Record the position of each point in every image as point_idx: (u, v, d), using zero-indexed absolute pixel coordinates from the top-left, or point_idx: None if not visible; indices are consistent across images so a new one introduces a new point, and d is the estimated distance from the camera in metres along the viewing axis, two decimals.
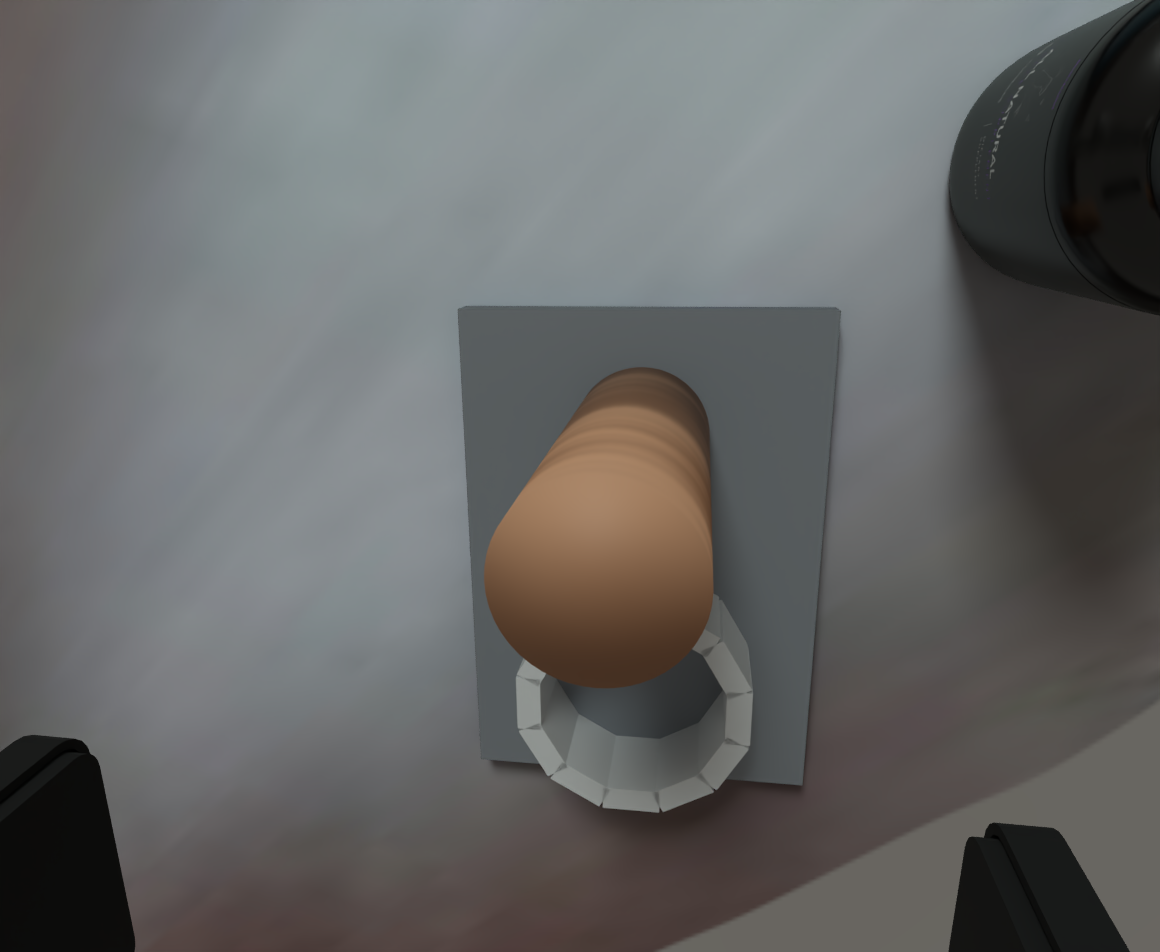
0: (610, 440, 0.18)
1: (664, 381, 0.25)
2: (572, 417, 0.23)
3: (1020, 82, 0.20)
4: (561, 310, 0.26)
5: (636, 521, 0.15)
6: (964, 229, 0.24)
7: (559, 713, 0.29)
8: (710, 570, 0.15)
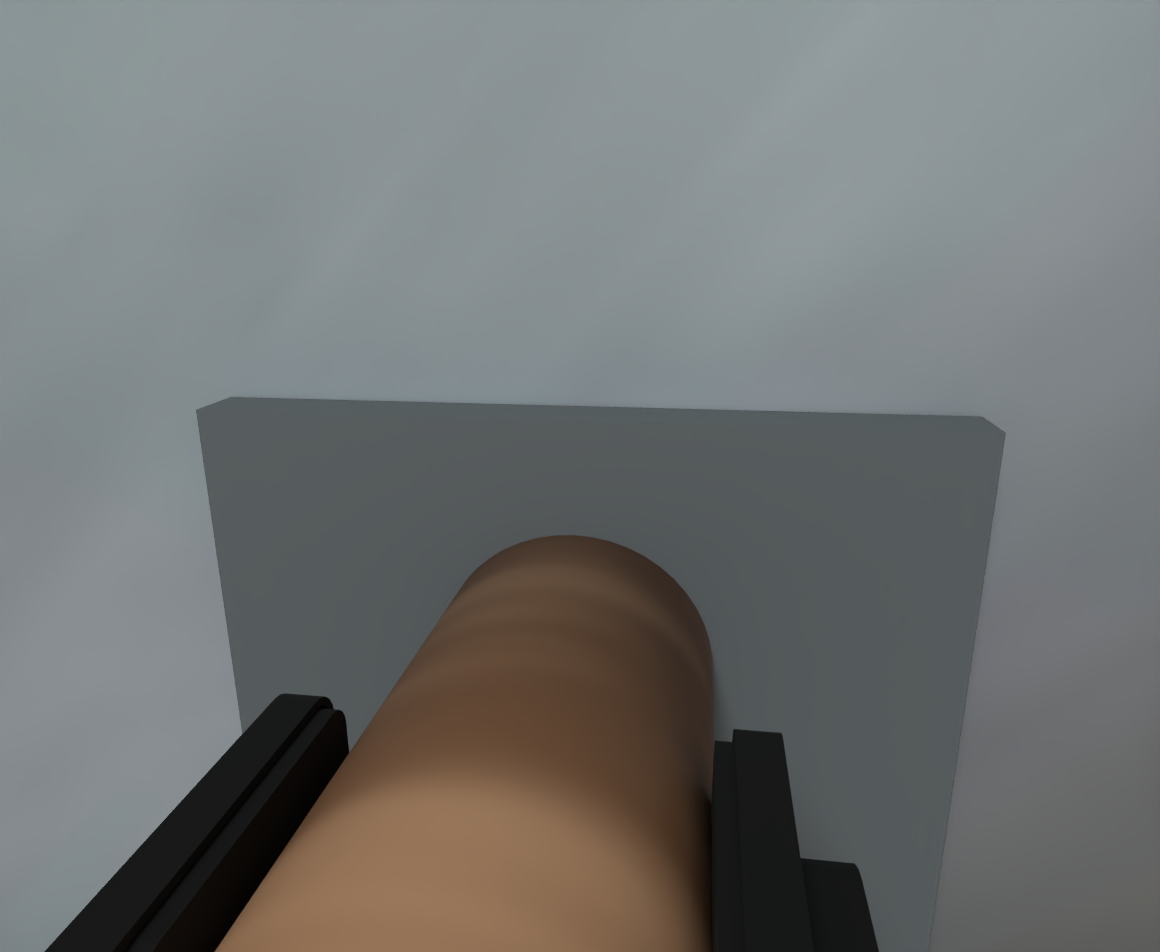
0: None
1: (612, 592, 0.11)
2: (372, 722, 0.09)
3: None
4: (403, 417, 0.13)
5: None
6: None
7: None
8: None
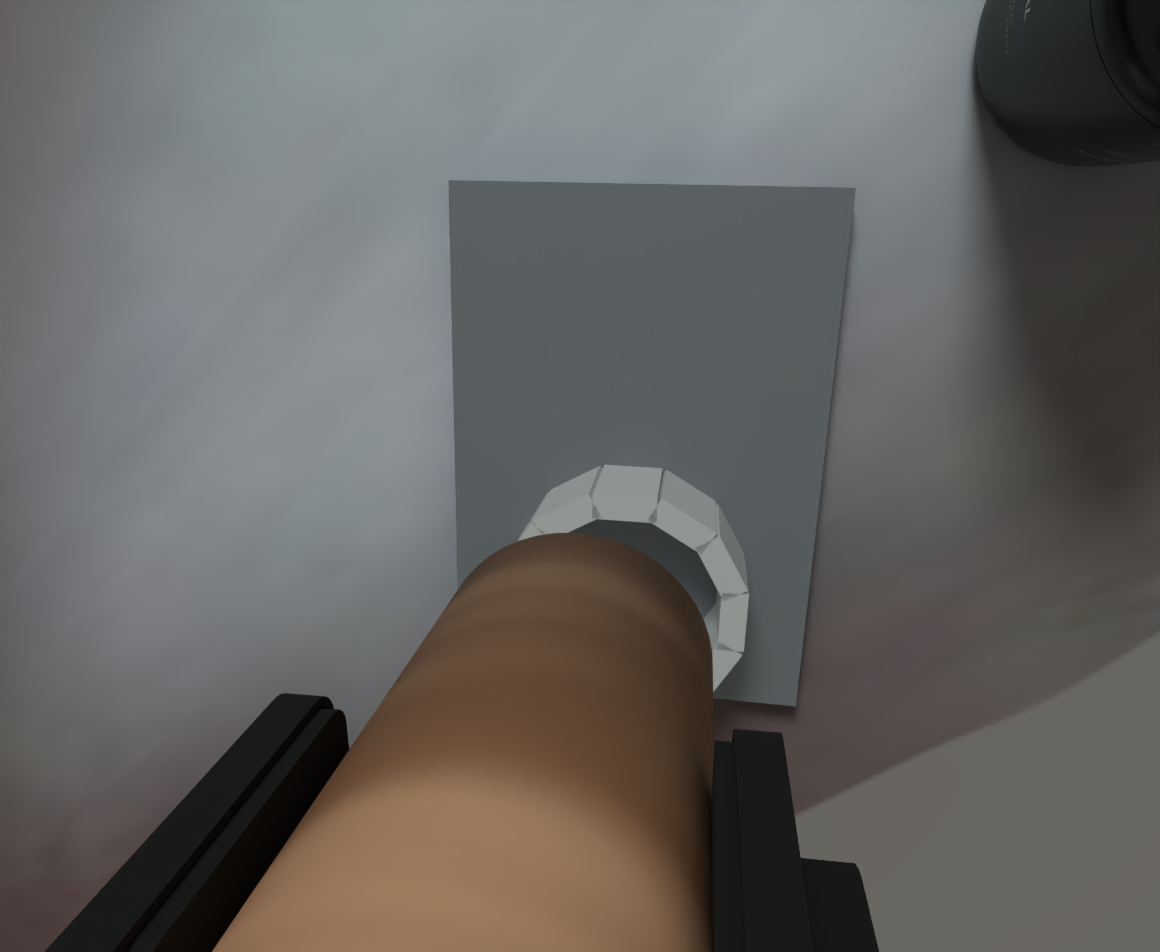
0: None
1: (612, 590, 0.11)
2: (372, 719, 0.09)
3: None
4: (559, 183, 0.25)
5: None
6: (990, 99, 0.22)
7: None
8: None
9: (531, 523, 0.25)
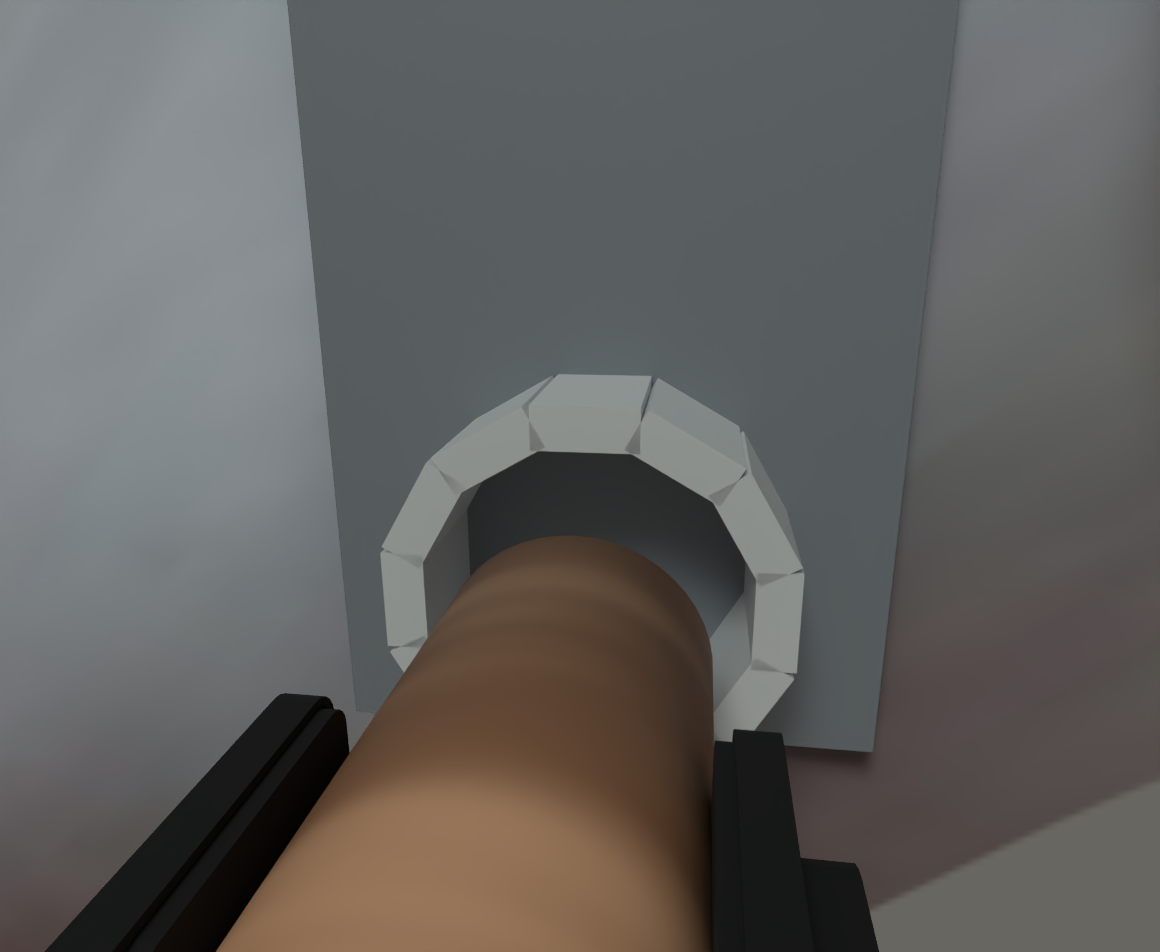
0: None
1: (612, 593, 0.11)
2: (372, 722, 0.09)
3: None
4: None
5: None
6: None
7: None
8: None
9: (428, 463, 0.15)
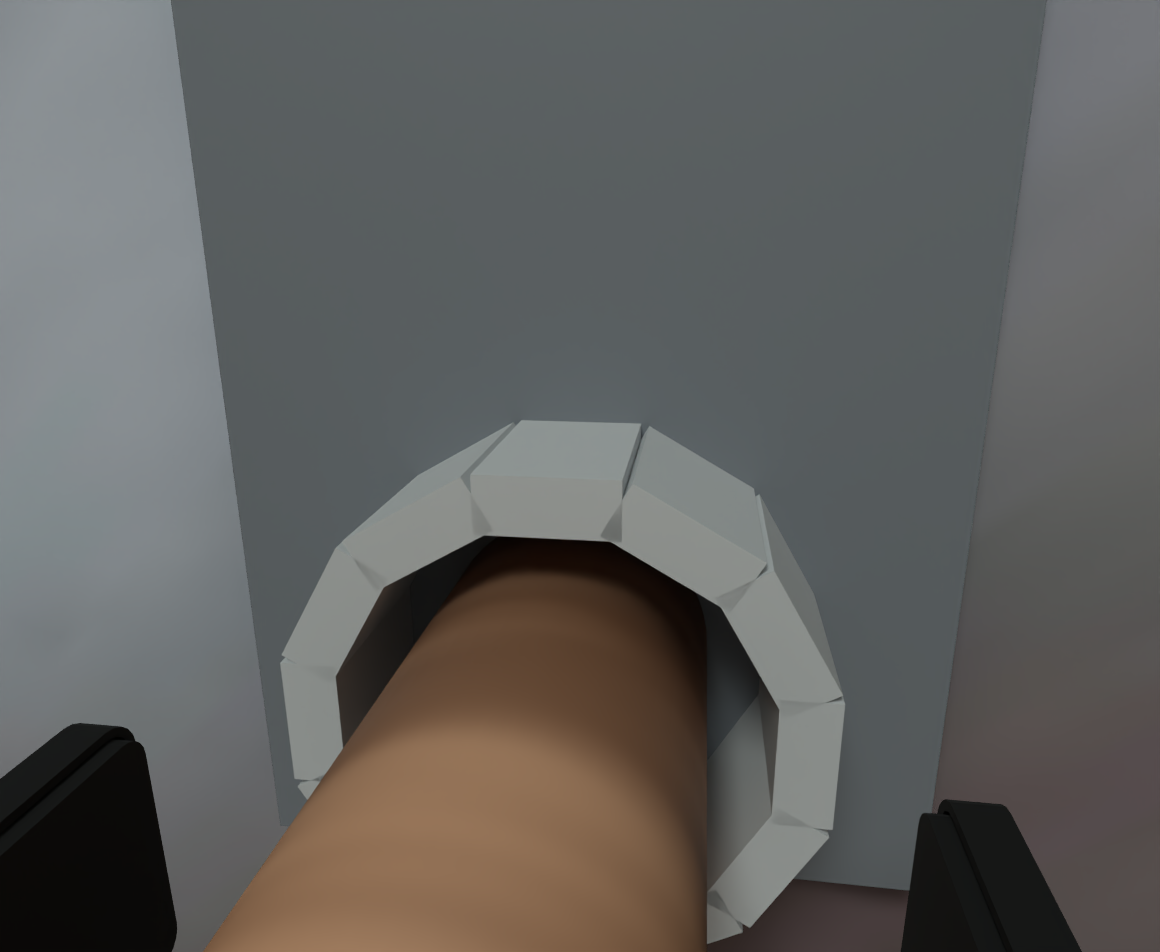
0: None
1: (611, 567, 0.12)
2: (389, 683, 0.10)
3: None
4: None
5: None
6: None
7: None
8: None
9: (339, 548, 0.11)
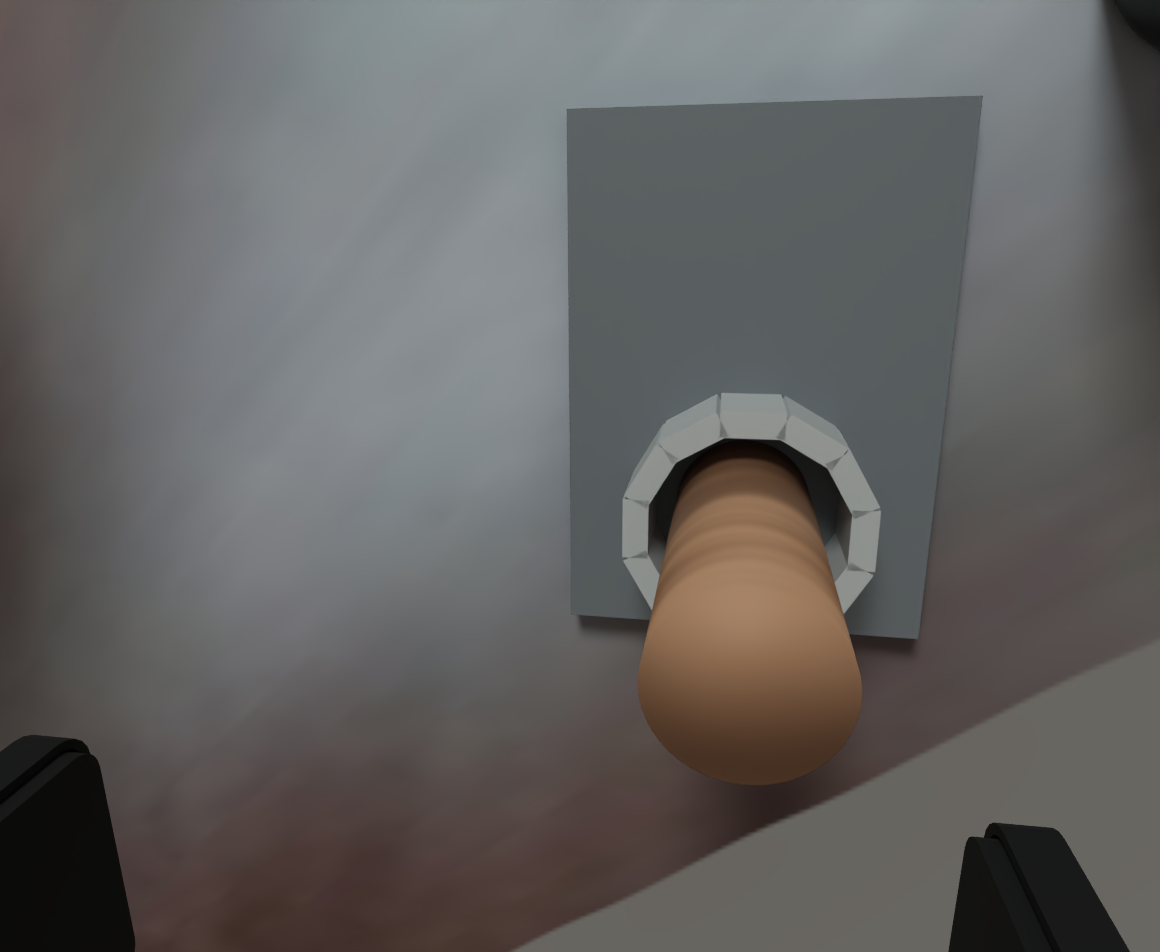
0: (749, 542, 0.18)
1: (771, 458, 0.26)
2: (688, 497, 0.24)
3: None
4: (678, 106, 0.25)
5: (789, 633, 0.16)
6: None
7: (661, 552, 0.27)
8: (860, 680, 0.16)
9: (657, 445, 0.25)
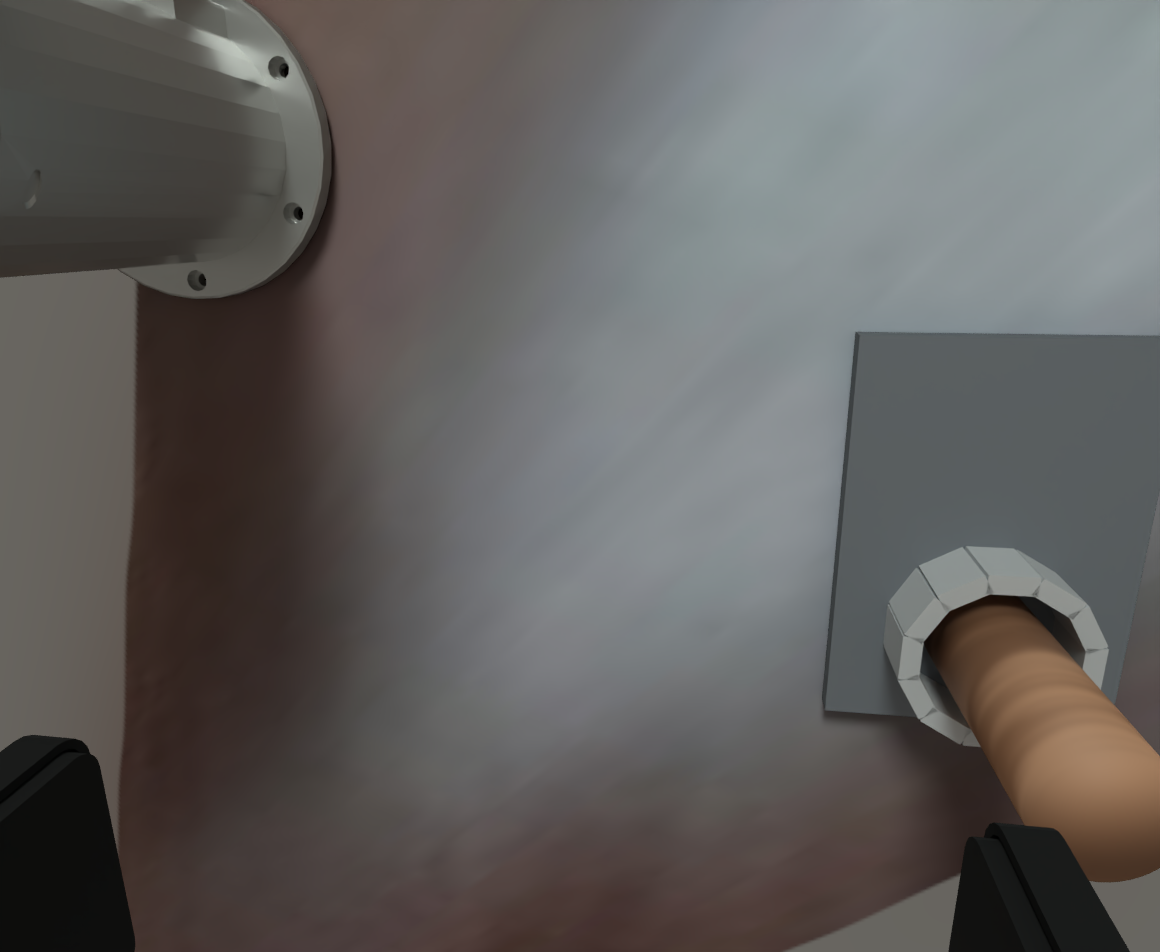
0: (1082, 705, 0.26)
1: (1015, 603, 0.33)
2: (970, 643, 0.31)
3: None
4: (950, 337, 0.32)
5: (1146, 783, 0.24)
6: None
7: None
8: None
9: (934, 598, 0.32)
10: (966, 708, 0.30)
